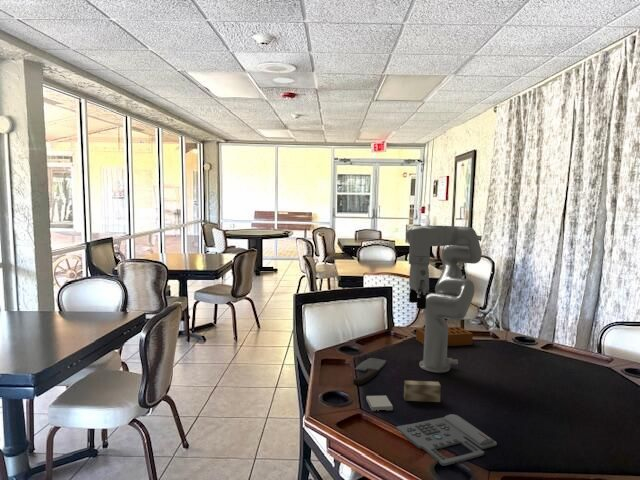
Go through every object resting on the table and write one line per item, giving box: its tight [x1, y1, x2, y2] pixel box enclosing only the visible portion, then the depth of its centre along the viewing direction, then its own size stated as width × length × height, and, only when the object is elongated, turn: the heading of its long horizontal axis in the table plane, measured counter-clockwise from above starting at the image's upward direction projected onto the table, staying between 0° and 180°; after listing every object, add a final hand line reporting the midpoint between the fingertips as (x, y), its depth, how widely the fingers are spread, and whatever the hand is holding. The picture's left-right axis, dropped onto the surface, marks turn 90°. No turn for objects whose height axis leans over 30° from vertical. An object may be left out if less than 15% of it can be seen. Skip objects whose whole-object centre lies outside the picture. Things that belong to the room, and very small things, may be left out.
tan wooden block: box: [403, 380, 442, 403], centre depth 146 cm, size 12×3×6 cm, turn 88°
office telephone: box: [395, 413, 498, 467], centre depth 121 cm, size 23×3×20 cm
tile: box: [365, 395, 394, 412], centre depth 141 cm, size 2×8×7 cm
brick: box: [415, 326, 474, 347], centre depth 211 cm, size 25×12×6 cm, turn 104°
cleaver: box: [352, 357, 387, 386], centre depth 170 cm, size 30×10×2 cm, turn 155°
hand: (417, 305), depth 157 cm, fingers open, 9 cm apart
